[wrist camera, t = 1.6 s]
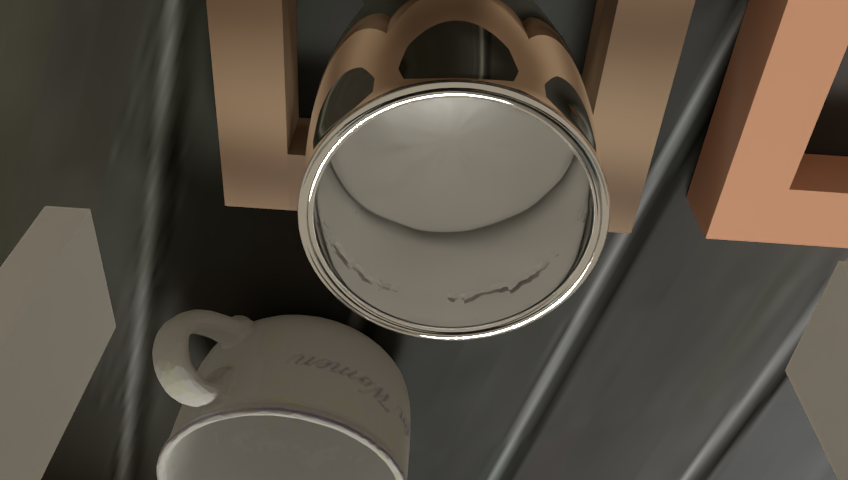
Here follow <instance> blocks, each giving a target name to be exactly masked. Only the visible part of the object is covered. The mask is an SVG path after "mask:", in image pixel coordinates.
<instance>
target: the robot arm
mask: <svg viewBox="0 0 848 480" xmlns="http://www.w3.org/2000/svg"><path fill="white" fill-rule="evenodd" d="M115 328H116V324H115V320H114V315H113V311H112V306H111V302H110V297H109V293H108V288H107V283H106V279H105V274H104V270H103V265H102V261H101V256H100V252H99V247H98V243H97V238H96V234H95V229H94V225H93V220H92V215H91V211H90V209H83V208H69V207H54V206H45V207H44V208H43V210H42V211H41V212H40V214H39V215H38V216H37V218H36V219H35V221H34V222H33V223H32V225H31V226H30V227H29V229H28V230H27V231H26V233H25V234H24V236H23V237H22V238H21V240H20V241H19V242H18V244H17V245H16V246H15V248H14V249H13V251H12V252H11V253H10V255H9V256H8V257H7V259H6V260H5V262H4V263H3V264H2V266H1V267H0V480H41V478H42V476H43V474H44V472H45V470H46V468H47V466H48V464H49V462H50V460H51V458H52V456H53V454H54V452H55V450H56V448H57V446H58V444H59V442H60V440H61V438H62V436H63V434H64V431H65V429H66V427H67V425H68V423H69V421H70V419H71V417H72V415H73V413H74V411H75V409H76V407H77V405H78V403H79V401H80V399H81V397H82V395H83V393H84V391H85V389H86V387H87V385H88V383H89V381H90V379H91V377H92V375H93V373H94V370H95V368H96V366H97V364H98V362H99V360H100V358H101V356H102V354H103V352H104V350H105V348H106V346H107V344H108V342H109V340H110V338H111V336H112V334H113V332H114V330H115ZM785 371H786V374H787V376H788V378H789V380H790V382H791V384H792V386H793V388H794V390H795V392H796V394H797V396H798V398H799V400H800V403H801V405H802V407H803V409H804V411H805V413H806V415H807V417H808V419H809V421H810V423H811V425H812V427H813V429H814V432H815V434H816V436H817V438H818V440H819V442H820V444H821V446H822V448H823V450H824V452H825V454H826V456H827V459H828V461H829V463H830V465H831V467H832V469H833V471H834V473H835V475H836V477H837V479H838V480H848V261H838V263H837V266H836V268H835V270H834V272H833V274H832V276H831V278H830V280H829V282H828V284H827V286H826V288H825V290H824V292H823V294H822V296H821V298H820V300H819V302H818V304H817V306H816V308H815V310H814V312H813V314H812V316H811V319H810V321H809V323H808V325H807V327H806V329H805V331H804V333H803V335H802V337H801V339H800V341H799V343H798V345H797V347H796V349H795V351H794V353H793V355H792V357H791V359H790V361H789V363H788V365H787V367H786V369H785Z"/></svg>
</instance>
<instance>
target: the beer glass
mask: <svg viewBox="0 0 848 480" xmlns="http://www.w3.org/2000/svg"><path fill="white" fill-rule="evenodd" d="M363 2H364V6H363V7H362V8H361V9H360V10H359V11H358V13H357V14H356V15H355V16H354V18H353V19H352V20H351V22H350V23H349V25H348V26H347V28H346V29H345V31H344V32H343V34H342V35H341V37H340V39H339V40H338V42H337V43H336V45H335V47H334V49H333V51H332V53H331V55H330V57H329V60H328V62H327V65H326V67H325V70H324V73H323V75H322V78H321V81H320V83H319V86H318V89H317V93H316V97H315V101H314V106H313V110H312V115H311V119H310V124H309V130H308V137H307V145H306V152H305V162H304V173H303V179H302V183H301V186H300V191H299V197H298V209H297V214H298V227H299V233H300V238H301V241H302V245H303V248H304V251H305V253H306V256H307V258H308V260H309V262H310V264H311V266H312V268H313V269H314V271H315V273H316V274H317V276H318V277H319V278H320V280H321V281H322V282H323V284H324V285H325V286H326V287H327V288H328V290H329V291H330V292H331V293H332V294H333V295H334V296H335V297H336V298H337V299H339V300H340V301H341V302H342V303H343V304H344V305H346V306H347V307H348V308H350V309H351V310H352V311H354V312H355V313H357V314H358V315H360V316H362V317H363V318H365V319H367V320H369V321H371V322H373V323H375V324H377V325H379V326H381V327H384V328H386V329H389V330H392V331H395V332H398V333H401V334H405V335H409V336H413V337H418V338H424V339H432V340H446V341H458V340H472V339H480V338H486V337H491V336H495V335H499V334H503V333H506V332H510V331H513V330H515V329H518V328H521V327H523V326H525V325H528V324H530V323H532V322H534V321H536V320H538V319H539V318H541V317H543V316H545V315H546V314H548V313H549V312H551V311H552V310H554V309H555V308H557V307H558V306H559V305H561V304H562V303H563V302H564V301H565V300H567V299H568V298H569V297H570V296H571V295H572V294H573V293H574V292H575V291H576V290H577V289H578V288H579V287H580V286H581V284H582V283H583V282H584V281H585V279H586V278H587V277H588V275H589V274H590V272H591V271H592V269H593V268H594V266H595V264H596V262H597V261H598V259H599V256H600V254H601V252H602V249H603V247H604V244H605V241H606V237H607V233H608V228H609V221H610V197H609V190H608V185H607V181H606V178H605V174H604V172H603V169H602V163H601V156H600V149H599V143H598V138H597V133H596V127H595V122H594V117H593V114H592V110H591V106H590V103H589V99H588V96H587V92H586V89H585V85H584V82H583V80H582V77H581V75H580V73H579V70H578V68H577V66H576V63H575V61H574V59H573V57H572V54H571V52H570V50H569V48H568V46H567V44H566V43H565V41H564V39H563V38H562V36H561V35H560V33H559V32H558V31H557V29H556V28H555V27H554V25H553V24H552V23H551V21H550V20H549V18H548V17H547V16H546V15H545V13H544V12H543V11H542V10H541V9H540V7H539V6H538V5H537V4H536V3H535V2H534V1H533V0H363Z"/></svg>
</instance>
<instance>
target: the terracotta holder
mask: <svg viewBox="0 0 848 480" xmlns="http://www.w3.org/2000/svg"><path fill="white" fill-rule="evenodd" d="M847 46H848V0H749V1H748V5H747V8H746V11H745V14H744V17H743V20H742V24H741V27H740V30H739V33H738V36H737V39H736V42H735V46H734V49H733V52H732V55H731V58H730V61H729V64H728V68H727V71H726V74H725V77H724V80H723V83H722V86H721V90H720V93H719V96H718V99H717V102H716V105H715V109H714V112H713V115H712V118H711V121H710V124H709V127H708V131H707V134H706V137H705V140H704V143H703V146H702V149H701V153H700V156H699V159H698V162H697V165H696V168H695V171H694V175H693V178H692V181H691V184H690V187H689V190H688V194H687V197H686V198H687V200H688V202H689V204H690V207H691V209H692V211H693V213H694V215H695V217H696V219H697V221H698V223H699V226H700V228H701V230H702V232H703V234H704V236H705V238H708V239H722V240H737V241H752V242H767V243H781V244H796V245H811V246H826V247H841V248H848V157H846V156H832V155H818V154H804V151H805V149H806V147H807V144H808V142H809V139H810V137H811V134H812V132H813V129H814V127H815V124H816V122H817V119H818V117H819V115H820V112H821V110H822V107H823V105H824V102H825V100H826V97H827V95H828V92H829V90H830V87H831V85H832V83H833V80H834V78H835V75H836V73H837V70H838V68H839V65H840V63H841V60H842V58H843V55H844V53H845V51H846V48H847Z"/></svg>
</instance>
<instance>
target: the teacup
mask: <svg viewBox="0 0 848 480" xmlns="http://www.w3.org/2000/svg"><path fill="white" fill-rule="evenodd" d="M190 334H198V335H203V336H206V337H209V338H211V339H213V340H215V341H217V342H218V343H217V344H216V345H215V346H214V347H213V348H212V349H211V351H210V352H209V353H208V355H207V356H206V358H205V359H204V360H203V362H202V363H201V365H200V367H199V369H198V371H196V370H195V368H194V367H193V364H192V362H191V359H190V356H189V350H188V342H189V336H190ZM153 363H154V369H155V372H156V375H157V378H158V380H159V382H160V383H161V385H162V386H163V388H164V389H165V391H166V392H167V393H168V394H169V395H170V396H171V397H172V398H174V399H175V400H177V401H178V402H180V403H182V406H181V409H180V411H179V414H178V417H177V419H176V422H175V424H174V427H173V430H172V432H171V435H170V438H169V439H168V440H167V441H166V442H165V444H164V446H163V447H162V449H161V451H160V454H159V458H158V462H157V479H158V480H407V472H408V460H409V447H410V404H409V397H408V392H407V388H406V385H405V382H404V379H403V377H402V375H401V372H400V370H399V369H398V367H397V366H396V364H395V363H394V361H393V360H392V358H391V357H390V356H389V355H388V354H387V353H386V351H384V350H383V349H382V348H381V347H380V346H379V345H378V344H377V343H375V342H374V341H373V340H372V339H370V338H369V337H368V336H366V335H364V334H363V333H361V332H359V331H357V330H356V329H354V328H352V327H350V326H347V325H344V324H342V323H339V322H336V321H333V320H329V319H325V318H322V317H316V316H308V315H280V316H274V317H268V318H263V319H259V320H256V321H252V320H250V319H249V318H248V317H245V316H242V315H236V316H233V317H229V316H227V315H224V314H221V313H217V312H214V311H211V310H199V309H196V310H190V311H186V312H183V313H180V314H178V315H176V316H175V317H173V318H171V319H170V320H168V321H167V322H166V323H165V324H164V325H163V326H162V327H161V328H160V330H159V331H158V333H157V336H156V338H155V341H154V345H153Z"/></svg>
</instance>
